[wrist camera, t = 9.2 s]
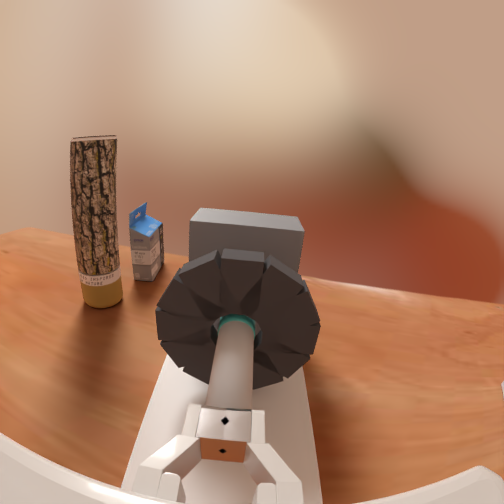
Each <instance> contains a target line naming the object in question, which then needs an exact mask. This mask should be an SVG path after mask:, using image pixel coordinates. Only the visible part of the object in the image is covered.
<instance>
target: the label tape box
mask: <svg viewBox="0 0 504 504" xmlns="http://www.w3.org/2000/svg"><path fill="white" fill-rule="evenodd" d="M146 205H147V203H144V204H143V205H141V206H140V207H138V208H137V209H135V210H134V211H132V212H131V213H130V214H129V230H130V244H131V256H132V265H133V274H134V280H141V281H153V280H154V278H155V276H156V275H157V273H158V271H159V269H160V268H161V266H162V264H163V263H164V247H163V224H162V223H161V222H159V221H157V220H155V219H154V218H152V217H150V216H148V215H146V214H145V213H146ZM138 212H139V213H140V212H141V213H140V216H138V217H137V218H136V219H135V216H136V215H137V214H138Z"/></svg>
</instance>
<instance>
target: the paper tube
mask: <svg viewBox="0 0 504 504" xmlns="http://www.w3.org/2000/svg"><path fill="white" fill-rule="evenodd" d="M116 154H117V137H116V136H115V135H113V136H111V135H110V136H91V137H79V138H73V139H72V140H71V147H70V182H71V205H72V219H73V231H74V240H75V249H76V257H77V264H78V270H79V277H80V282H81V287H82V293H83V298H84V301H85V302H86V303H87V304H88V305H89V306H91V307H94V308H108V307H111V306H113V305H115V304H117V303H118V302H119V301H120V300H121V298H122V296H123V291H122V282H121V271H120V261H119V248H118V234H117V212H116Z"/></svg>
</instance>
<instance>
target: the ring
mask: <svg viewBox="0 0 504 504" xmlns="http://www.w3.org/2000/svg"><path fill="white" fill-rule="evenodd" d="M157 306H158V307H157V308H156V310H155V312H156V323H157V333H158V340H162V341H161V343H160V345H161V346H162V347H163V349H164V350H165V351H166V353H167V354H168V355H169V357H170V358H171V359H172V360H173V362H174V363H175V364H176V366H177V367H178V368H181V367H184V368H183V372H185V373H187V374H188V375H190V376H192V377H194V378H196V379H198V380H200V381H202V382H204V383H206V384H208V385H209V381H210V376H211V371H212V365H213V360H214V355H215V349H216V344H217V339H218V332H217V330H216V328H215V327H214V325H213V324H214V323H215V321H216V320H217V319H218V318H220V317H223V316H226V315H229V314H238V315H246V316H247V317H249V318H251V319H253V320H254V321H256V322H257V323H258V325H259V327H260V328H261V330H260V331H259V332H258V334H257V335H256V336H255V339H254V349H253V387H252V389H253V390H255V389H258V388H262V387H265V386H269V385H272V384H276V383H279V382H282V381H283V376H284V377H286V378H289V377H290V376H292V375H293V374H294V373H295V372H296V371H297V370H298V369H299V368H301V367H302V366H303V365H304V364H305V363H306V362H307V361H308V360H309V359H310V355H309V354H312V355H313V352H314V349H315V345H316V342H317V338H318V334H319V330H320V327H321V326H320V323H319V322H320V319H319V316H318V312H317V309H316V307H315V304H314V302H313V299H312V297H311V294H310V292H309V290H308V287H307V285H306V282H305V280H302V278H301V275H299V274H298V273H297V272H295V271H294V270H292V269H291V268H289V267H288V266H286V265H285V264H283V263H282V262H280V261H279V260H277V259H276V258H274V257H273V256H272V255H269V256H268V258H267V259H266V260H265V261H264V252H256V251H245V250H235V249H224V250H223V253H222V256H221V255H220V253H219V251H218V250H215V251H213V252H211V253H208V254H206V255H204V256H202V257H199V258H197V259H195V260H192V261H190V262H188V263H186V264H184V265H183V267H182V269H181V268H179V270H178V271H177V273H176V274H175V276H174V277H173V279H172V281H171V282H170V284H169V285H168V287H167V289H166V290H165V292H164V293H163V295H162V297H161V299H160V300H159V302H158V304H157Z"/></svg>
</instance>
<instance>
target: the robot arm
mask: <svg viewBox="0 0 504 504" xmlns="http://www.w3.org/2000/svg"><path fill="white" fill-rule="evenodd" d="M201 459H209V460H220V461H229V462H239V463H243V464H244V466H245V467H246V469H247V471H248V472H249V474H250V475H251V477H252V478H253V480H254V481H255V483H256V484H257V488H256V491H255V494H254V497H253V500H252V503H251V504H304V502H303V491H302V482H301V481H300V479H299V478H298V477H297V476H296V475H295V474H294V473H293V471H292V470H291V469H290V468H289V467H288V466H287V464H286V463H285V462H284V461H283V460H282V458H281V457H280V456H279V455H278V454H277V452H276V451H275V450H274V449H273V448H272V446H271V445H270V444H269V443H266V441H265V412H264V410H251V409H236V408H221V407H213V406H206V405H200V404H193V403H189V405H188V408H187V412H186V416H185V421H184V425H183V429H182V434H181V435H179V434H177V435H176V436H175V437H174V438H173V439H171V440H170V441H169V442H168V443H166V444H165V445H164V446H163V447H161V448H160V449H159V450H158V451H156V452H155V453H154V454H152V455H151V456H150V457H149V458H147V459H146V460H145V461H143V462H142V463H141V464H139V466H138V469H137V473H136V476H135V479H134V483H133V486H132V490H131V491H129V490H125V489H122V488H119V487H115V486H112V485H109V484H106V483H103V482H100V481H98V480H95V479H92V478H90V477H87V476H84V475H82V474H79V473H77V472H75V471H72V470H70V469H67V468H65V467H63V466H61V465H59V464H56V463H54V462H52V461H50V460H48V459H46V458H44V457H42V456H40V455H38V454H36V453H34V452H33V451H31V450H29V449H27V448H25V447H23V446H22V445H20V444H18V443H17V442H15V441H13V440H12V439H10V438H8V437H7V436H5V435H3V434H2V433H0V504H186V503H185V501H186V495H185V492H184V488H183V485H182V481H181V480H182V479H183V478H184V477H185V476H186V475H187V474H188V473H189V472H190V471H191V470H192V469H193V468H194V467H195V466H196V465H197V464H198V463H199V462H200V461H201ZM354 504H504V481H503V479H502V478H501V477H500V476H499V475H498V474H496V473H495V472H493V471H491V470H489V469H488V468H486V467H484V466H476V467H473V468H471V469H468V470H466V471H464V472H462V473H459V474H457V475H454V476H452V477H449V478H447V479H444V480H441V481H439V482H436V483H433V484H430V485H427V486H424V487H421V488H418V489H414V490H411V491H407V492H404V493H400V494H396V495H392V496H388V497H384V498H380V499H375V500H370V501H365V502H360V503H354Z"/></svg>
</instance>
